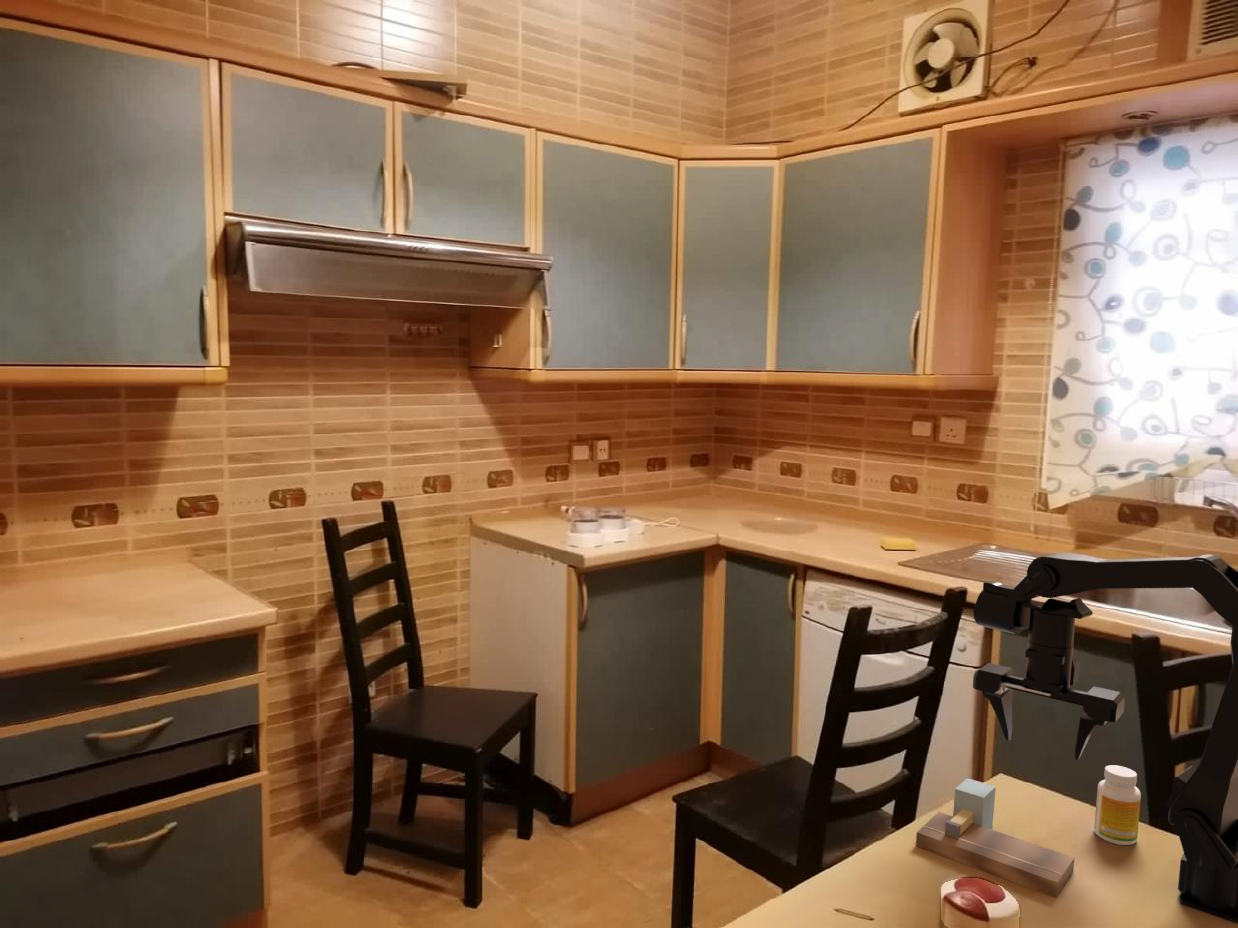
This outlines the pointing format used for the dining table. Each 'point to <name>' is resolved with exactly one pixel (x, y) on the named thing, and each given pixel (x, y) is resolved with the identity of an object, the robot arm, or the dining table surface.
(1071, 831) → the dining table surface
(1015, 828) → the dining table surface
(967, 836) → the board
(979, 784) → the light blue block
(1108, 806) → the supplement bottle
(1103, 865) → the dining table surface
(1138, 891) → the dining table surface
